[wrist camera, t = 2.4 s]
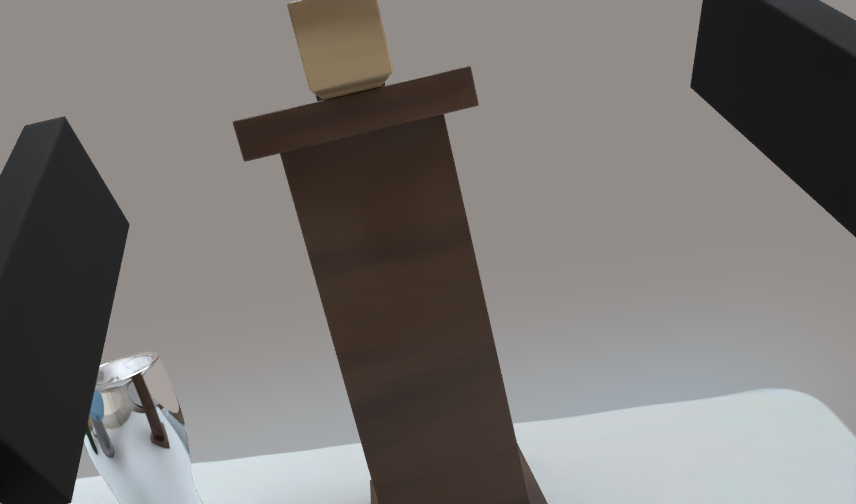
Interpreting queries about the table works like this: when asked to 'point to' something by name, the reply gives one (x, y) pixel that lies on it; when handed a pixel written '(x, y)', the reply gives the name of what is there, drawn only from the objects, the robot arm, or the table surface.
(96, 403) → the beer glass
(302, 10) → the long wooden bar
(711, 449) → the table surface
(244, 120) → the wooden pedestal stand
